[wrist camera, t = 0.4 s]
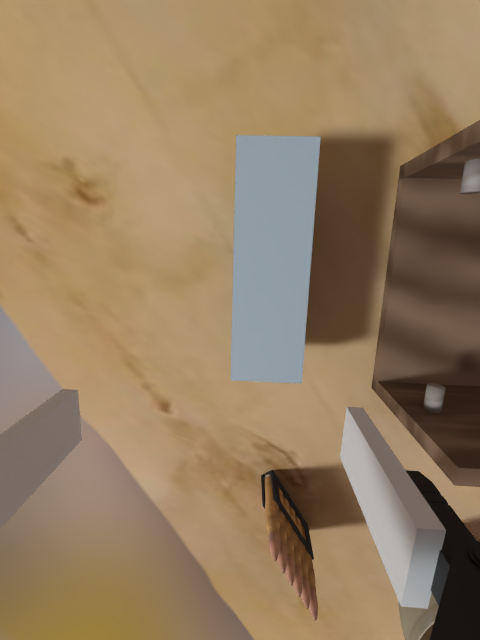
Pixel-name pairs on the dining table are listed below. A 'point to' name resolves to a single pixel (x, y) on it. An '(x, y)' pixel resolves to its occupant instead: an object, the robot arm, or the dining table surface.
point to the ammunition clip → (289, 540)
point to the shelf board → (272, 255)
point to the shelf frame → (436, 306)
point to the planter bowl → (418, 620)
